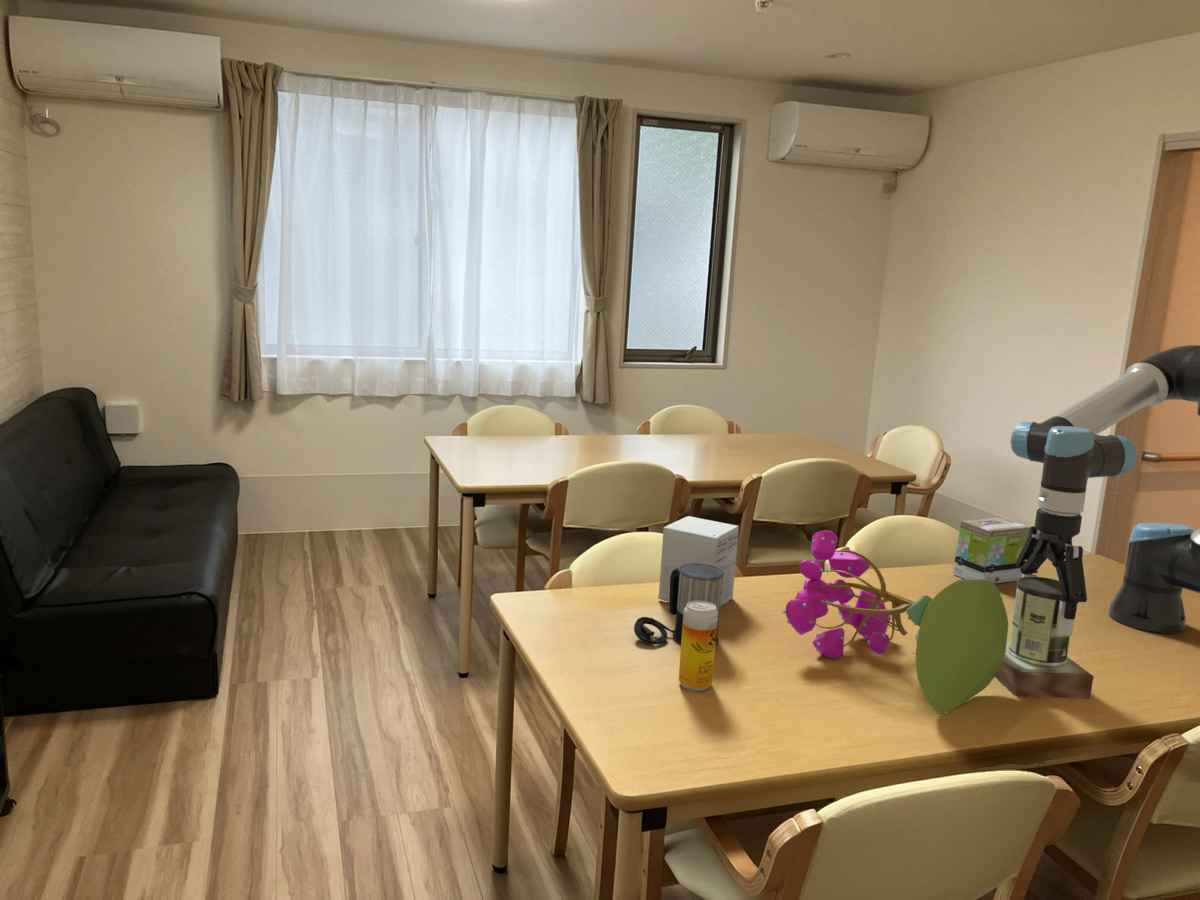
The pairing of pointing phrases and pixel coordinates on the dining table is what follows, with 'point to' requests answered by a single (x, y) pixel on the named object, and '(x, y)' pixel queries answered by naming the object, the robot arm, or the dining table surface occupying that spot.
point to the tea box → (990, 549)
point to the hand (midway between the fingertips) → (1043, 620)
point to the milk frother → (685, 598)
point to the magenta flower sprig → (947, 622)
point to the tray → (1044, 679)
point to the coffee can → (1038, 623)
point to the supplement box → (699, 551)
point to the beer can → (698, 645)
